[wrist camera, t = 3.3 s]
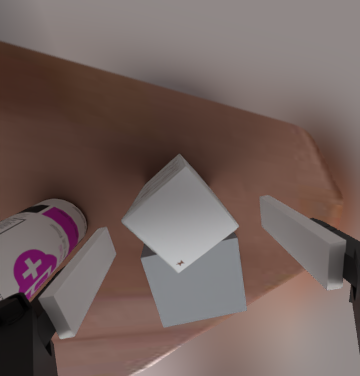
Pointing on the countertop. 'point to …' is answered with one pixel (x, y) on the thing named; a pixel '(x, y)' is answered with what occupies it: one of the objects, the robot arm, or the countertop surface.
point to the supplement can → (37, 244)
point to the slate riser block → (197, 284)
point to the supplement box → (179, 215)
